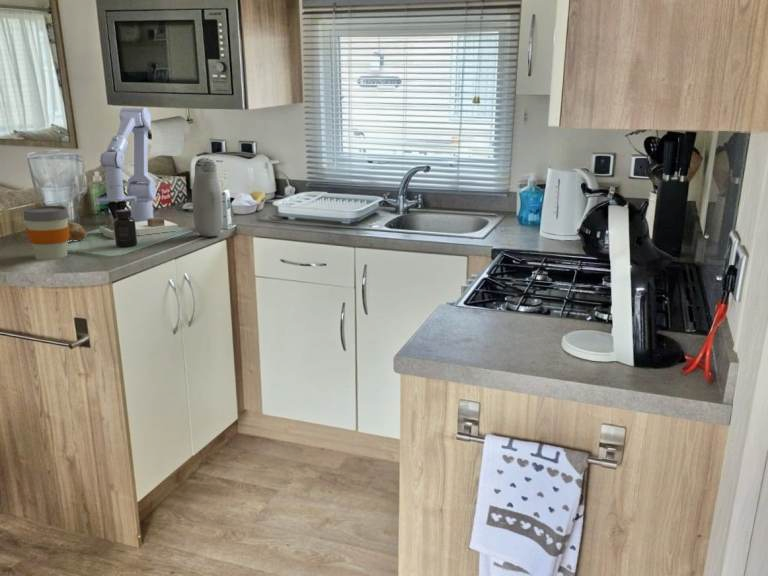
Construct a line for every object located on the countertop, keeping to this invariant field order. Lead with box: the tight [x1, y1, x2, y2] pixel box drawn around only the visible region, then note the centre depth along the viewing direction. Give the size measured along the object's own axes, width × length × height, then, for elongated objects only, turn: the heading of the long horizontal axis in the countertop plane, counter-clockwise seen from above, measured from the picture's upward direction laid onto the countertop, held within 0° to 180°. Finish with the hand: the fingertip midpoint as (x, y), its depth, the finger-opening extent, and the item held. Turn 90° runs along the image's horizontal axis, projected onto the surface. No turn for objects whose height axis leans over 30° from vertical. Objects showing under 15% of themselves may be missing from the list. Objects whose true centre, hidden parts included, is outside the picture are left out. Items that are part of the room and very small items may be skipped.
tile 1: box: [104, 217, 114, 229], centre depth 245 cm, size 4×4×2 cm
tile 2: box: [147, 216, 165, 227], centre depth 247 cm, size 4×4×2 cm
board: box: [135, 219, 179, 236], centre depth 251 cm, size 14×15×2 cm
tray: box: [98, 225, 139, 239], centre depth 243 cm, size 14×9×2 cm, turn 41°
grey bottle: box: [191, 157, 223, 238], centre depth 239 cm, size 10×10×28 cm
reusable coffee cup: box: [23, 205, 70, 261], centre depth 208 cm, size 13×13×15 cm
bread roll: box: [68, 221, 88, 241], centre depth 234 cm, size 10×10×8 cm
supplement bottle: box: [113, 209, 138, 248], centre depth 225 cm, size 7×7×12 cm
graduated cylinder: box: [221, 188, 233, 230], centre depth 255 cm, size 6×6×14 cm
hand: (118, 222), depth 246 cm, fingers closed
